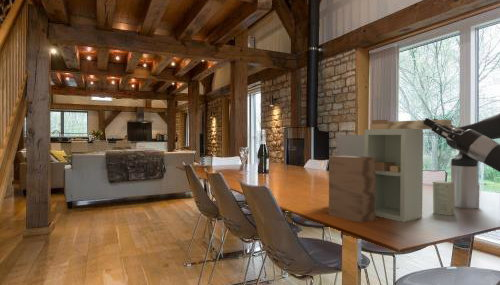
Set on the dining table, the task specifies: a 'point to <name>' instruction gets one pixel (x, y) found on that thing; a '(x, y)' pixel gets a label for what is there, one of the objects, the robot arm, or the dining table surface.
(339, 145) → the folded grey card
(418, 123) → the birch strip
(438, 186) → the skincare box
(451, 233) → the dining table surface
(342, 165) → the walnut block
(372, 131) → the rack
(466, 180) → the robot arm
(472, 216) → the dining table surface
